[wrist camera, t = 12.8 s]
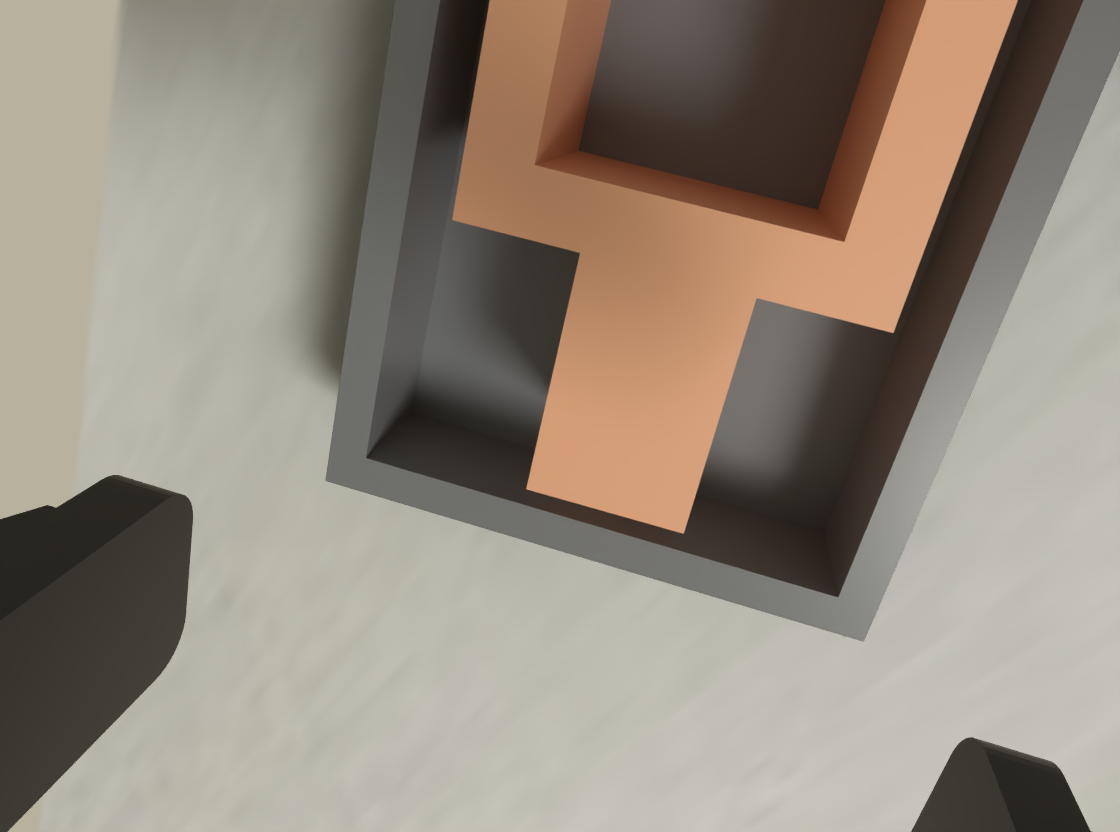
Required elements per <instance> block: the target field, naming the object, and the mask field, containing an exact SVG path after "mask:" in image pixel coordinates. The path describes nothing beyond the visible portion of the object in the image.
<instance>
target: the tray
mask: <svg viewBox="0 0 1120 832" xmlns="http://www.w3.org/2000/svg"><path fill="white" fill-rule="evenodd" d="M885 1H886V0H611V4H610V8H609V13H608V17H607V22H606V27H605V31H604V36H603V40H602V45H601V50H600V54H599V59H598V63H597V68H596V72H595V77H594V82H593V86H592V91H591V95H590V100H589V105H588V109H587V114H586V118H585V123H584V127H583V132H582V137H581V141H580V146H579V150H578V151H581V152H585V153H589V154H594V155H598V156H602V157H606V158H610V159H614V160H618V161H622V162H626V163H630V164H634V165H638V166H642V167H647V168H651V169H655V170H659V171H663V172H667V173H671V174H675V175H679V176H683V177H687V178H691V179H695V180H700V181H704V182H708V183H712V184H716V185H720V186H724V187H728V188H732V189H736V190H740V191H744V192H748V193H753V194H757V195H761V196H765V197H769V198H773V199H777V200H781V201H785V202H789V203H793V204H797V205H802V206H806V207H810V208H814V209H818V208H819V205H820V202H821V198H822V195H823V192H824V189H825V186H826V183H827V180H828V177H829V174H830V171H831V168H832V164H833V161H834V158H835V155H836V152H837V149H838V146H839V143H840V140H841V137H842V134H843V130H844V127H845V124H846V121H847V118H848V115H849V112H850V109H851V106H852V103H853V100H854V96H855V93H856V90H857V87H858V84H859V81H860V78H861V75H862V72H863V69H864V66H865V62H866V59H867V56H868V53H869V50H870V47H871V44H872V41H873V38H874V35H875V32H876V28H877V25H878V22H879V19H880V16H881V13H882V10H883V7H884V4H885ZM489 2H490V0H395V4H394V11H393V18H392V25H391V31H390V38H389V45H388V52H387V59H386V66H385V73H384V80H383V87H382V94H381V101H380V107H379V114H378V121H377V128H376V135H375V142H374V149H373V156H372V163H371V170H370V177H369V184H368V190H367V197H366V204H365V211H364V218H363V225H362V232H361V239H360V246H359V253H358V260H357V266H356V273H355V280H354V287H353V294H352V301H351V308H350V315H349V322H348V329H347V336H346V343H345V349H344V356H343V363H342V370H341V377H340V384H339V391H338V398H337V405H336V412H335V419H334V425H333V432H332V439H331V446H330V453H329V460H328V467H327V474H326V481H328V482H331V483H334V484H338V485H341V486H344V487H348V488H351V489H355V490H358V491H361V492H365V493H368V494H371V495H375V496H378V497H381V498H385V499H388V500H391V501H395V502H398V503H401V504H405V505H408V506H411V507H415V508H418V509H421V510H425V511H428V512H432V513H435V514H438V515H442V516H445V517H448V518H452V519H455V520H458V521H462V522H465V523H468V524H472V525H475V526H478V527H482V528H485V529H488V530H492V531H495V532H498V533H502V534H505V535H508V536H512V537H515V538H519V539H522V540H525V541H529V542H532V543H535V544H539V545H542V546H545V547H549V548H552V549H555V550H559V551H562V552H565V553H569V554H572V555H575V556H579V557H582V558H585V559H589V560H592V561H596V562H599V563H602V564H606V565H609V566H612V567H616V568H619V569H622V570H626V571H629V572H632V573H636V574H639V575H642V576H646V577H649V578H652V579H656V580H659V581H662V582H666V583H669V584H673V585H676V586H679V587H683V588H686V589H689V590H693V591H696V592H699V593H703V594H706V595H709V596H713V597H716V598H719V599H723V600H726V601H729V602H733V603H736V604H739V605H743V606H746V607H749V608H753V609H756V610H760V611H763V612H766V613H770V614H773V615H776V616H780V617H783V618H786V619H790V620H793V621H796V622H800V623H803V624H806V625H810V626H813V627H816V628H820V629H823V630H826V631H830V632H833V633H837V634H840V635H843V636H847V637H850V638H853V639H857V640H860V641H863V642H864V640H865V638H866V635H867V633H868V631H869V628H870V626H871V624H872V621H873V619H874V617H875V615H876V612H877V610H878V608H879V605H880V603H881V601H882V598H883V596H884V594H885V591H886V589H887V587H888V585H889V582H890V580H891V578H892V575H893V573H894V571H895V568H896V566H897V564H898V561H899V559H900V557H901V554H902V552H903V550H904V548H905V545H906V543H907V541H908V538H909V536H910V534H911V531H912V529H913V527H914V524H915V522H916V520H917V517H918V515H919V513H920V511H921V508H922V506H923V504H924V501H925V499H926V497H927V494H928V492H929V490H930V487H931V485H932V483H933V481H934V478H935V476H936V474H937V471H938V469H939V467H940V464H941V462H942V460H943V457H944V455H945V453H946V450H947V448H948V446H949V444H950V441H951V439H952V437H953V434H954V432H955V430H956V427H957V425H958V423H959V420H960V418H961V416H962V414H963V411H964V409H965V407H966V404H967V402H968V400H969V397H970V395H971V393H972V390H973V388H974V386H975V383H976V381H977V379H978V377H979V374H980V372H981V370H982V367H983V365H984V363H985V360H986V358H987V356H988V353H989V351H990V349H991V346H992V344H993V342H994V340H995V337H996V335H997V333H998V330H999V328H1000V326H1001V323H1002V321H1003V319H1004V316H1005V314H1006V312H1007V310H1008V307H1009V305H1010V303H1011V300H1012V298H1013V296H1014V293H1015V291H1016V289H1017V286H1018V284H1019V282H1020V279H1021V277H1022V275H1023V273H1024V270H1025V268H1026V266H1027V263H1028V261H1029V259H1030V256H1031V254H1032V252H1033V249H1034V247H1035V245H1036V243H1037V240H1038V238H1039V236H1040V233H1041V231H1042V229H1043V226H1044V224H1045V222H1046V219H1047V217H1048V215H1049V212H1050V210H1051V208H1052V206H1053V203H1054V201H1055V199H1056V196H1057V194H1058V192H1059V189H1060V187H1061V185H1062V182H1063V180H1064V178H1065V175H1066V173H1067V171H1068V169H1069V166H1070V164H1071V162H1072V159H1073V157H1074V155H1075V152H1076V150H1077V148H1078V145H1079V143H1080V141H1081V139H1082V136H1083V134H1084V132H1085V129H1086V127H1087V125H1088V122H1089V120H1090V118H1091V115H1092V113H1093V111H1094V108H1095V106H1096V104H1097V102H1098V99H1099V97H1100V95H1101V92H1102V90H1103V88H1104V85H1105V83H1106V81H1107V78H1108V76H1109V74H1110V72H1111V69H1112V67H1113V65H1114V62H1115V60H1116V58H1117V55H1118V53H1119V51H1120V0H1018V1H1017V4H1016V7H1015V9H1014V12H1013V15H1012V18H1011V20H1010V23H1009V26H1008V28H1007V31H1006V34H1005V36H1004V39H1003V42H1002V44H1001V47H1000V50H999V52H998V55H997V58H996V60H995V63H994V66H993V68H992V71H991V74H990V76H989V79H988V82H987V84H986V87H985V90H984V92H983V95H982V98H981V100H980V103H979V106H978V108H977V111H976V114H975V116H974V119H973V122H972V124H971V127H970V130H969V132H968V135H967V138H966V140H965V143H964V146H963V148H962V151H961V154H960V156H959V159H958V162H957V164H956V167H955V170H954V172H953V175H952V178H951V180H950V183H949V186H948V188H947V191H946V194H945V196H944V199H943V202H942V204H941V207H940V210H939V213H938V215H937V218H936V221H935V223H934V226H933V229H932V231H931V234H930V237H929V239H928V242H927V245H926V247H925V250H924V253H923V255H922V258H921V261H920V263H919V266H918V269H917V271H916V274H915V277H914V279H913V282H912V285H911V287H910V290H909V293H908V295H907V298H906V301H905V303H904V306H903V309H902V311H901V314H900V317H899V319H898V322H897V325H896V327H895V330H894V333H891V332H887V331H883V330H879V329H875V328H872V327H868V326H864V325H860V324H856V323H852V322H848V321H844V320H840V319H836V318H832V317H829V316H825V315H821V314H817V313H813V312H809V311H805V310H801V309H797V308H793V307H790V306H786V305H782V304H778V303H774V302H770V301H766V300H762V299H758V298H756V302H755V305H754V308H753V311H752V315H751V318H750V321H749V324H748V327H747V331H746V334H745V337H744V340H743V344H742V347H741V350H740V353H739V357H738V360H737V363H736V366H735V370H734V373H733V376H732V379H731V382H730V386H729V389H728V392H727V395H726V399H725V402H724V405H723V408H722V412H721V415H720V418H719V421H718V424H717V428H716V431H715V434H714V437H713V441H712V444H711V447H710V450H709V454H708V457H707V460H706V463H705V466H704V470H703V473H702V476H701V479H700V483H699V486H698V489H697V492H696V496H695V499H694V502H693V505H692V509H691V512H690V515H689V518H688V521H687V525H686V528H685V531H684V534H683V533H679V532H676V531H672V530H669V529H665V528H661V527H658V526H654V525H651V524H647V523H644V522H640V521H637V520H633V519H630V518H626V517H623V516H619V515H616V514H612V513H608V512H605V511H601V510H598V509H594V508H591V507H587V506H584V505H580V504H577V503H573V502H570V501H566V500H563V499H559V498H556V497H552V496H548V495H545V494H541V493H538V492H534V491H531V490H527V489H526V488H527V484H528V479H529V475H530V470H531V466H532V462H533V457H534V453H535V449H536V444H537V440H538V435H539V431H540V427H541V422H542V418H543V413H544V409H545V405H546V400H547V396H548V392H549V387H550V383H551V378H552V374H553V370H554V365H555V361H556V357H557V352H558V348H559V343H560V339H561V335H562V330H563V326H564V322H565V317H566V313H567V308H568V304H569V300H570V295H571V291H572V286H573V282H574V278H575V273H576V269H577V265H578V260H579V256H580V253H579V252H575V251H571V250H567V249H563V248H559V247H555V246H551V245H547V244H544V243H540V242H536V241H532V240H528V239H524V238H520V237H516V236H512V235H508V234H505V233H501V232H497V231H493V230H489V229H485V228H481V227H477V226H473V225H469V224H465V223H462V222H458V221H454V220H452V218H453V212H454V206H455V200H456V194H457V188H458V183H459V177H460V171H461V165H462V159H463V153H464V148H465V142H466V136H467V130H468V124H469V118H470V113H471V107H472V101H473V95H474V89H475V83H476V78H477V72H478V66H479V60H480V54H481V48H482V43H483V37H484V31H485V25H486V19H487V13H488V8H489Z"/></svg>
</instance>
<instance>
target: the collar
mask: <svg viewBox="0 0 1120 832" xmlns="http://www.w3.org/2000/svg"><path fill="white" fill-rule="evenodd" d="M1017 1H1018V0H886V1H885V4H884V7H883V10H882V13H881V16H880V19H879V22H878V25H877V28H876V32H875V35H874V38H873V41H872V44H871V47H870V50H869V53H868V56H867V59H866V62H865V66H864V69H863V72H862V75H861V78H860V81H859V84H858V87H857V90H856V93H855V96H854V100H853V103H852V106H851V109H850V112H849V115H848V118H847V121H846V124H845V127H844V130H843V134H842V137H841V140H840V143H839V146H838V149H837V152H836V155H835V158H834V161H833V164H832V168H831V171H830V174H829V177H828V180H827V183H826V186H825V189H824V192H823V195H822V198H821V202H820V205H819V208H818V209H814V208H810V207H806V206H802V205H797V204H793V203H789V202H785V201H781V200H777V199H773V198H769V197H765V196H761V195H757V194H753V193H748V192H744V191H740V190H736V189H732V188H728V187H724V186H720V185H716V184H712V183H708V182H704V181H700V180H695V179H691V178H687V177H683V176H679V175H675V174H671V173H667V172H663V171H659V170H655V169H651V168H647V167H642V166H638V165H634V164H630V163H626V162H622V161H618V160H614V159H610V158H606V157H602V156H598V155H594V154H589V153H585V152H581V151H578V150H579V146H580V141H581V137H582V132H583V127H584V123H585V118H586V114H587V109H588V105H589V100H590V95H591V91H592V86H593V82H594V77H595V72H596V68H597V63H598V59H599V54H600V50H601V45H602V40H603V36H604V31H605V27H606V22H607V17H608V13H609V8H610V4H611V0H490V2H489V8H488V13H487V19H486V25H485V31H484V37H483V43H482V48H481V54H480V60H479V66H478V72H477V78H476V83H475V89H474V95H473V101H472V107H471V113H470V118H469V124H468V130H467V136H466V142H465V148H464V153H463V159H462V165H461V171H460V177H459V183H458V188H457V194H456V200H455V206H454V212H453V218H452V220H454V221H458V222H462V223H465V224H469V225H473V226H477V227H481V228H485V229H489V230H493V231H497V232H501V233H505V234H508V235H512V236H516V237H520V238H524V239H528V240H532V241H536V242H540V243H544V244H547V245H551V246H555V247H559V248H563V249H567V250H571V251H575V252H579V253H580V256H579V260H578V265H577V269H576V273H575V278H574V282H573V286H572V291H571V295H570V300H569V304H568V308H567V313H566V317H565V322H564V326H563V330H562V335H561V339H560V343H559V348H558V352H557V357H556V361H555V365H554V370H553V374H552V378H551V383H550V387H549V392H548V396H547V400H546V405H545V409H544V413H543V418H542V422H541V427H540V431H539V435H538V440H537V444H536V449H535V453H534V457H533V462H532V466H531V470H530V475H529V479H528V484H527V488H526V489H527V490H531V491H534V492H538V493H541V494H545V495H548V496H552V497H556V498H559V499H563V500H566V501H570V502H573V503H577V504H580V505H584V506H587V507H591V508H594V509H598V510H601V511H605V512H608V513H612V514H616V515H619V516H623V517H626V518H630V519H633V520H637V521H640V522H644V523H647V524H651V525H654V526H658V527H661V528H665V529H669V530H672V531H676V532H679V533H683V534H684V531H685V528H686V525H687V521H688V518H689V515H690V512H691V509H692V505H693V502H694V499H695V496H696V492H697V489H698V486H699V483H700V479H701V476H702V473H703V470H704V466H705V463H706V460H707V457H708V454H709V450H710V447H711V444H712V441H713V437H714V434H715V431H716V428H717V424H718V421H719V418H720V415H721V412H722V408H723V405H724V402H725V399H726V395H727V392H728V389H729V386H730V382H731V379H732V376H733V373H734V370H735V366H736V363H737V360H738V357H739V353H740V350H741V347H742V344H743V340H744V337H745V334H746V331H747V327H748V324H749V321H750V318H751V315H752V311H753V308H754V305H755V302H756V298H758V299H762V300H766V301H770V302H774V303H778V304H782V305H786V306H790V307H793V308H797V309H801V310H805V311H809V312H813V313H817V314H821V315H825V316H829V317H832V318H836V319H840V320H844V321H848V322H852V323H856V324H860V325H864V326H868V327H872V328H875V329H879V330H883V331H887V332H891V333H894V330H895V327H896V325H897V322H898V319H899V317H900V314H901V311H902V309H903V306H904V303H905V301H906V298H907V295H908V293H909V290H910V287H911V285H912V282H913V279H914V277H915V274H916V271H917V269H918V266H919V263H920V261H921V258H922V255H923V253H924V250H925V247H926V245H927V242H928V239H929V237H930V234H931V231H932V229H933V226H934V223H935V221H936V218H937V215H938V213H939V210H940V207H941V204H942V202H943V199H944V196H945V194H946V191H947V188H948V186H949V183H950V180H951V178H952V175H953V172H954V170H955V167H956V164H957V162H958V159H959V156H960V154H961V151H962V148H963V146H964V143H965V140H966V138H967V135H968V132H969V130H970V127H971V124H972V122H973V119H974V116H975V114H976V111H977V108H978V106H979V103H980V100H981V98H982V95H983V92H984V90H985V87H986V84H987V82H988V79H989V76H990V74H991V71H992V68H993V66H994V63H995V60H996V58H997V55H998V52H999V50H1000V47H1001V44H1002V42H1003V39H1004V36H1005V34H1006V31H1007V28H1008V26H1009V23H1010V20H1011V18H1012V15H1013V12H1014V9H1015V7H1016V4H1017Z"/></svg>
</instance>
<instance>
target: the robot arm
mask: <svg viewBox="0 0 1120 832" xmlns="http://www.w3.org/2000/svg"><path fill="white" fill-rule="evenodd" d="M192 524H193V510H192V505H191V502H190V500H189V499H188V498H187V497H186V496H185V495H182V494H179V493H175V492H172V491H169V490H165V489H162V488H159V487H156V486H152V485H149V484H146V483H142V482H139V481H136V480H133V479H129V478H126V477H123V476H119V475H112V476H108V477H106V478H104V479H102V480H100V481H99V482H97V483H96V484H94V485H92V486H91V487H89V488H88V489H86V490H84V491H83V492H81V493H80V494H78V495H76V496H75V497H73V498H72V499H70V500H68V501H67V502H65V503H63V504H62V505H60V506H59V507H57V508H54V507H52V506H48V505H47V506H43V507H40V508H37V509H33V510H30V511H27V512H23V513H20V514H16V515H13V516H10V517H7V518H3V519H0V832H7V831H9V829H10V828H11V827H12V826H13V825H14V824H15V823H16V822H17V821H18V820H19V819H20V818H21V817H22V816H23V815H24V814H25V813H26V812H27V811H28V810H29V809H30V808H31V807H32V806H33V805H34V804H35V803H36V802H37V801H38V800H39V799H40V798H41V797H42V796H43V795H44V794H45V793H46V792H47V791H48V789H49V788H50V787H51V786H52V785H53V784H54V783H55V782H56V781H57V780H58V779H59V778H60V777H61V776H62V775H63V774H64V773H65V772H66V771H67V770H68V769H69V768H70V767H71V766H72V765H73V764H74V763H75V762H76V761H77V760H78V759H79V758H80V757H81V756H82V755H83V754H84V753H85V752H86V751H87V749H88V748H89V747H90V746H91V745H92V744H93V743H94V742H95V741H96V740H97V739H98V738H99V737H100V736H101V735H102V734H103V733H104V732H105V731H106V730H107V729H108V728H109V727H110V726H111V725H112V724H113V723H114V722H115V721H116V720H117V719H118V718H119V717H120V716H121V715H122V714H123V713H124V712H125V710H126V709H127V708H128V707H129V706H130V705H131V704H132V703H133V702H134V701H135V700H136V699H137V698H138V697H139V696H140V695H141V694H142V693H143V692H144V691H145V690H146V689H147V688H148V687H149V686H150V685H151V684H152V683H153V682H154V681H155V680H156V679H157V677H158V676H159V675H160V674H161V673H162V671H163V670H164V669H165V667H166V666H167V664H168V663H169V661H170V659H171V658H172V656H173V654H174V652H175V650H176V648H177V645H178V643H179V640H180V638H181V635H182V631H183V628H184V623H185V617H186V605H187V592H188V578H189V565H190V551H191V538H192ZM911 832H1091V831H1090V829H1089V827H1088V825H1087V823H1086V821H1085V819H1084V817H1083V815H1082V812H1081V810H1080V808H1079V806H1078V804H1077V802H1076V800H1075V798H1074V796H1073V794H1072V792H1071V790H1070V787H1069V785H1068V783H1067V781H1066V779H1065V777H1064V775H1063V773H1062V772H1061V770H1060V769H1059V768H1058V767H1057V765H1056V764H1054V763H1053V762H1051V761H1048V760H1044V759H1041V758H1038V757H1034V756H1031V755H1028V754H1025V753H1021V752H1018V751H1015V750H1011V749H1008V748H1005V747H1002V746H998V745H995V744H992V743H989V742H985V741H982V740H979V739H975V738H972V737H971V738H966V739H964V740H963V741H961V742H960V743H959V744H958V745H957V747H956V748H955V749H954V751H953V753H952V754H951V756H950V758H949V760H948V762H947V764H946V766H945V768H944V770H943V771H942V773H941V775H940V777H939V779H938V781H937V783H936V785H935V787H934V789H933V791H932V793H931V795H930V797H929V798H928V800H927V802H926V804H925V806H924V808H923V810H922V812H921V814H920V816H919V818H918V820H917V822H916V824H915V826H914V827H913V829H912V831H911Z"/></svg>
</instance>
